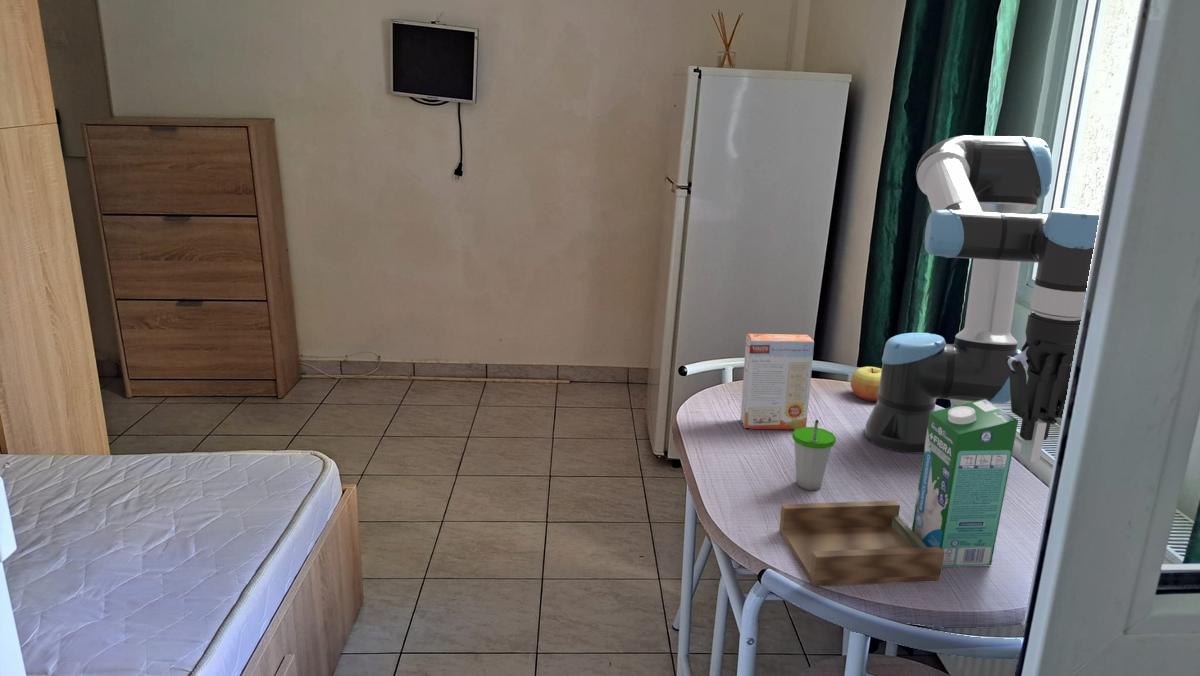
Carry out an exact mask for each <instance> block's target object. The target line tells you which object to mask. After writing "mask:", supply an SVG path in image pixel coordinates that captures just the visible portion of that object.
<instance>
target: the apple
mask: <svg viewBox="0 0 1200 676" xmlns="http://www.w3.org/2000/svg"><path fill="white" fill-rule="evenodd" d="M881 370H882V368H880V367H876V366H863V367H862V366H861V367H859V368H857V369H856V370H855V371H853V373H852V375H851V378H850V387H851V390H852V392H853V394H854V395H856V396H857V397H858V398H859V399H862V400H864V401H868V402H877V399H878V391H879V384H880V377H881Z"/></svg>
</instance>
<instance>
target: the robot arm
mask: <svg viewBox="0 0 1200 676" xmlns="http://www.w3.org/2000/svg"><path fill="white" fill-rule="evenodd" d="M915 178H916V182H917V186H918V188H919V189H920V191H921V192H922V193H923V194H924V195H925V196H927V200H928V203H929V206H930V210H931V212H930V213H929V215H928V218H927V220H926V226H925V232H924V250H925V251H926V253H927V254H928V255H930V256H937V257H944V258H946V259H950V258H951V259H953V258H954V259H955V258H957V259H959V258H960V259H971V260H972V259H973V260H972V267H971V274H970V275H971V276H970V283H969V290H968V298H967V299H968V300H967V304H966V305H967V306H966V314H965V320H964V328H963V329H962V330H960V331H959V332H958V333H956V335H955V336H954V337H955V338H954V342H953V343H947V342H946V340H945V338H944V337H943V336H942V335H938V334H936V333H930V332H907V333H900V334H896V335H894V336H892V337H890V338H888V339H887V341H886V342H885V345H884V349H883V354H882V357H881V362H882V365H881V369H882V370H881V377H880V384H879V391H878V399H877V401H876V403H875V405H874V406H873V409H872V411H871V413H870V415H869V416H868V418H867V421H866V423H865V428H864V436H865V439H867V440H868V441H869V442H871V443H873V444H875V445H876V446H879V447H881V448H884V449H887V450H891V451H895V452H899V453H900V452H901V453H911V454H912V453H913V454H917V453H918V454H924V447H925V441H926V434H927V428H928V421H929V415H930V412H933V411H936V410H935V409H936V402H937V399H943V400H950V401H952V400H953V401H963V402H974V401H978V400H982V399H986V400H988V401H989V402H991V403H992V404H994V405H1005V404H1007V403H1010V405H1011V406H1010V407H1011V409H1010V410H1011V413H1013V414H1015V416H1017V417H1019V418H1021V426H1020V431H1019V436H1020V438H1021V439H1022V441H1021V446H1020V451H1019V456H1021V457H1022V458H1024V459H1025V460H1027V461H1028V462H1030V463H1032V462H1033V463H1035V462H1037V463H1039V462H1040V458H1041V455H1042V449H1043V443H1044V441H1046V440H1047V439H1048V438H1049V434H1050V433H1049V432H1050V427H1051V425H1054V424H1056V423H1057V422H1058V420H1057V419H1058V418H1060V419H1063V418H1062V414H1063V409H1064V404H1065V400H1066V395H1067V389H1068V382H1069V378H1070V372H1071V367H1072V361H1073V355H1074V349H1075V344H1076V339H1077V335H1078V330H1079V325H1080V321H1081V316H1082V312H1083V307H1084V300H1085V294H1086V288H1087V281H1088V276H1089V270H1090V264H1091V259H1092V254H1093V249H1094V243H1095V238H1096V232H1097V225H1098V220H1099V215H1100V213H1101V212H1099V211H1094V210H1089V209H1081V208H1080V209H1079V208H1055V209H1051V210H1050V211H1049V212H1040V213H1036V214H1031V212H1033V210H1035V209H1036V208H1037V206H1038V205H1037V204H1038V199H1040V200H1041V199H1042V198H1045V197H1046V196H1047V195H1048V193H1049V192H1050V190H1051V189H1050V187H1051V186H1050V185H1051V184H1052V179H1053V160H1052V153H1051V151H1050V148H1049V145H1048V144H1047V142H1046V141H1045V140H1043V139H1041V138H1039V137H1038V138H1037V137H1029V136H1027V137H1026V136H1023V135H1021V136H1020V135H1019V136H1011V135H1008V136H1007V135H1006V136H1003V135H1002V136H1001V135H999V136H998V135H997V136H996V135H971V134H969V135H968V134H967V135H966V134H963V135H958V136H957V135H956V136H953V137H950V138H949V137H948V138H946V139H944V140H942V141H939V142H937V143H936V144H934V145H932V146H931V147H929V149H928V150H927V151H925V153H924V154H923V155H922V156H921V158H920V159H919V161H918V162H917V167H916V171H915ZM1021 262H1023V263H1037V268H1036V269H1037V270H1036V274H1035V281H1034V285H1033V291H1032V296H1031V300H1030V301H1031V302H1030V305H1029V306H1030V309H1031V310H1032V311H1030V312H1029V313H1028V316H1027V322H1026V328H1025V331H1024V332H1025V333H1024V334H1025V339H1026V340H1025V343H1024V344H1023V345H1022V347H1021V350H1020V349H1018V348H1017V347H1018V341H1017V340H1016V338H1015V337H1014V336H1013V335H1012V333H1011V332H1012V331H1011V330H1012V324H1013V317H1014V309H1015V302H1016V294H1017V287H1018V281H1019V280H1018V279H1019V275H1020V274H1019V272H1020V267H1021V265H1020V264H1021ZM1026 369H1027V370H1026Z"/></svg>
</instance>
